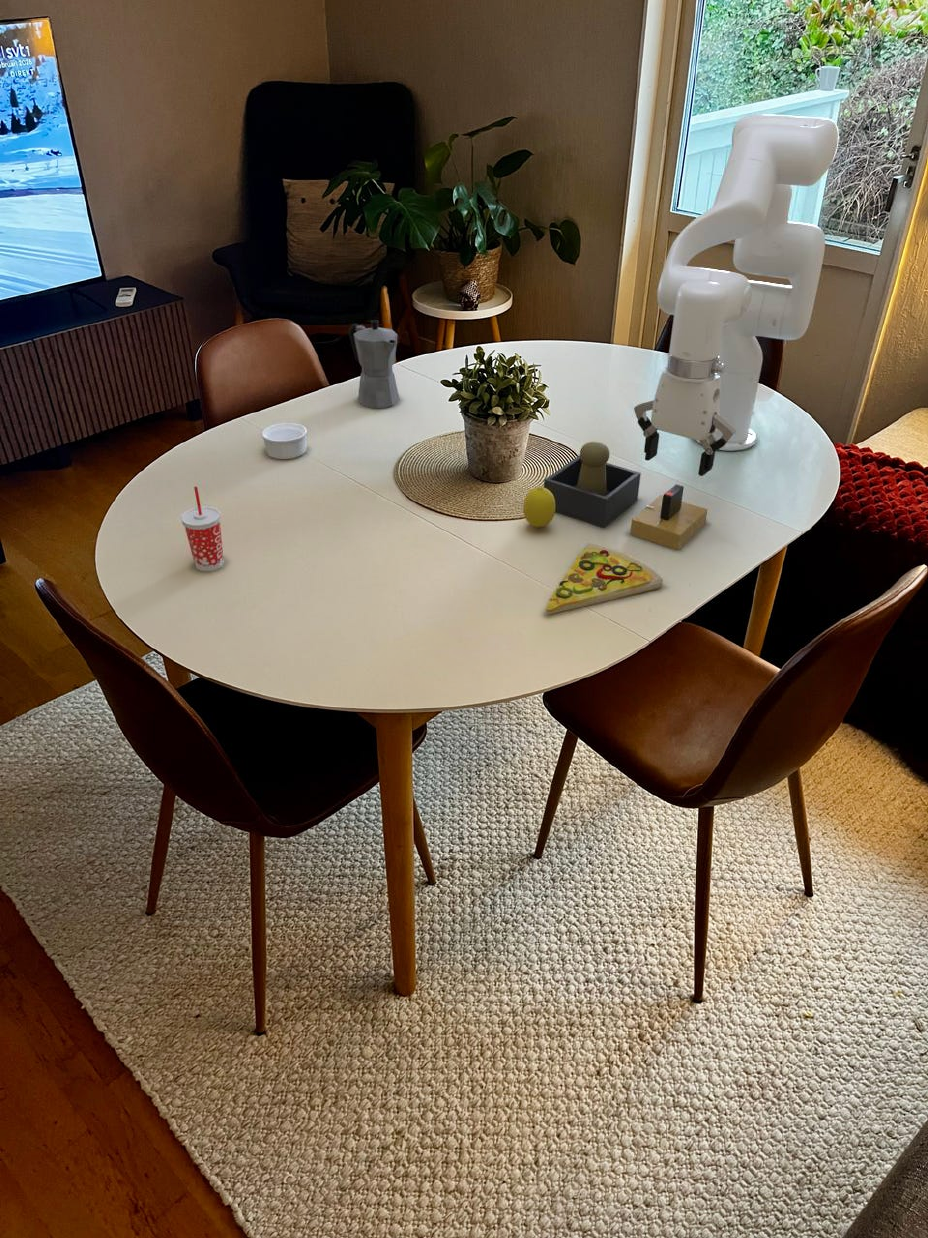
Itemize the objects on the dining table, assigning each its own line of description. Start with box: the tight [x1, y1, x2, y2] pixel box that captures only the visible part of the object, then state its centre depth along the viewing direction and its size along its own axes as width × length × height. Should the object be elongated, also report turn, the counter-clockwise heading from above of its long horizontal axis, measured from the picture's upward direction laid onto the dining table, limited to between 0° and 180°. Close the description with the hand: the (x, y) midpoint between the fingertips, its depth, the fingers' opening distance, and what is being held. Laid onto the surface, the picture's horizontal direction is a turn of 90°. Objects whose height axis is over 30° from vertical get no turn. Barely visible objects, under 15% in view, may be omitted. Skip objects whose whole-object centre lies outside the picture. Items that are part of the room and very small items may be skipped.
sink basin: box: [543, 454, 642, 529], centre depth 172 cm, size 13×13×6 cm
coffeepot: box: [348, 319, 401, 410], centre depth 207 cm, size 15×9×18 cm, turn 44°
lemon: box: [522, 485, 556, 529], centre depth 164 cm, size 6×6×8 cm
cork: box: [577, 441, 610, 497], centre depth 170 cm, size 6×6×11 cm
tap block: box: [629, 494, 709, 551], centre depth 165 cm, size 11×9×3 cm
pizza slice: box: [545, 543, 663, 616], centre depth 149 cm, size 16×21×3 cm
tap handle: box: [660, 483, 685, 521], centre depth 163 cm, size 5×2×5 cm, turn 144°
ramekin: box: [261, 422, 308, 460], centre depth 189 cm, size 9×9×4 cm
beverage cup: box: [180, 486, 225, 572], centre depth 152 cm, size 6×6×14 cm
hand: (676, 465), depth 158 cm, fingers open, 9 cm apart
